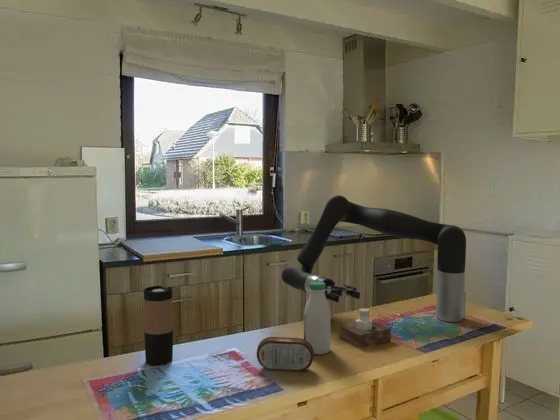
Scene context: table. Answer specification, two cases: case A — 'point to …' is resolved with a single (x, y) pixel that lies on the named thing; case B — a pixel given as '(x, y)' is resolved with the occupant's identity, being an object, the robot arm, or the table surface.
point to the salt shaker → (364, 320)
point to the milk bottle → (317, 319)
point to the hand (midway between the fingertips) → (348, 297)
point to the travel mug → (158, 325)
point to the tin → (285, 354)
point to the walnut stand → (364, 335)
